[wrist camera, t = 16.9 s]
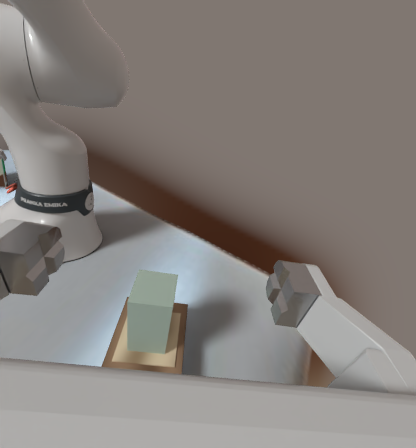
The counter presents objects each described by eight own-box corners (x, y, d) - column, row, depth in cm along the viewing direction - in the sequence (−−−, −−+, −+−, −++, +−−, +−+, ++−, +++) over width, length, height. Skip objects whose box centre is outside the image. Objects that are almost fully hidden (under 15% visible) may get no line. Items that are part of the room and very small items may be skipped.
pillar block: (127, 350, 30) (127, 301, 25) (137, 317, 34) (139, 269, 29) (164, 354, 30) (172, 307, 25) (170, 320, 35) (177, 274, 29)
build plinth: (99, 392, 29) (97, 377, 27) (127, 311, 39) (127, 296, 37) (176, 398, 30) (180, 385, 28) (184, 318, 40) (187, 303, 38)
